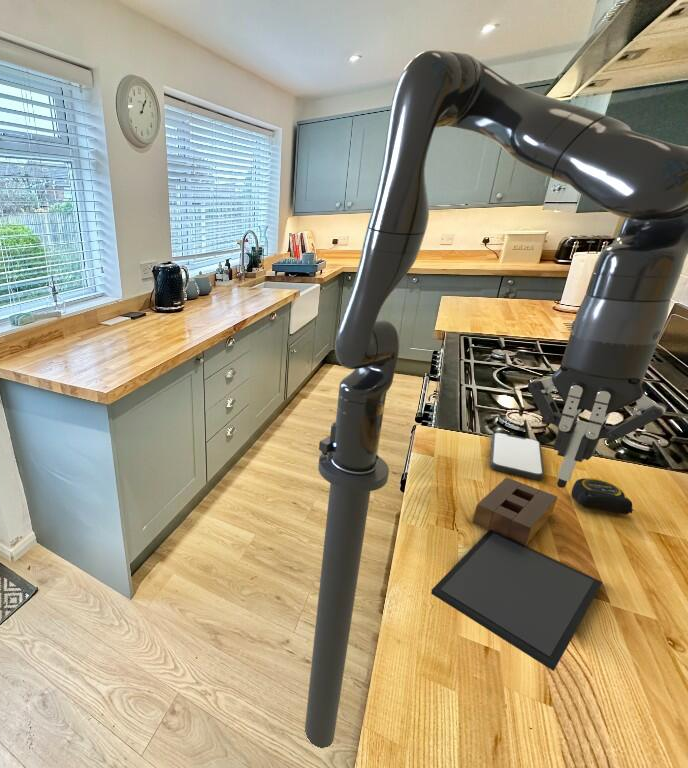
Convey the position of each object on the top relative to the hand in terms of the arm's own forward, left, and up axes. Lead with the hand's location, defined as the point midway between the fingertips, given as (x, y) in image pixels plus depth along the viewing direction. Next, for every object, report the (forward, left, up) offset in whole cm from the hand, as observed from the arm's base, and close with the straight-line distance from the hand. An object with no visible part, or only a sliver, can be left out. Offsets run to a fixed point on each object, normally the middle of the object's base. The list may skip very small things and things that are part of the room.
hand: (570, 456), depth 57 cm
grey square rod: (0, 0, -5) cm, 5 cm away
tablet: (0, -7, -20) cm, 21 cm away
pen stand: (-6, +10, -20) cm, 23 cm away
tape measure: (+2, +25, -20) cm, 32 cm away
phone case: (-13, +33, -20) cm, 40 cm away
